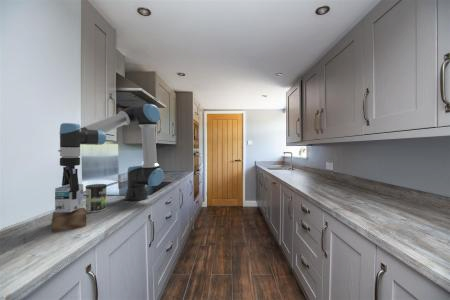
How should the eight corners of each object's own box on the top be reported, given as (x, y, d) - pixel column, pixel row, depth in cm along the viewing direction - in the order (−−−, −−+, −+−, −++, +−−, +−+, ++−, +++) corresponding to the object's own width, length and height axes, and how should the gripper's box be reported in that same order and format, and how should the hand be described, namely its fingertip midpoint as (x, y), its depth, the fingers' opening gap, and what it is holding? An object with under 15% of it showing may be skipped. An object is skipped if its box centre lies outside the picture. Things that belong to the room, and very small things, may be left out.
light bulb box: (71, 212, 90) (71, 187, 90) (54, 213, 89) (54, 188, 89) (83, 205, 100) (83, 183, 100) (68, 206, 99) (68, 183, 99)
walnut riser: (84, 219, 103) (84, 207, 103) (86, 226, 93) (86, 213, 93) (53, 224, 96) (53, 211, 96) (51, 233, 86) (51, 218, 86)
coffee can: (110, 207, 123) (110, 183, 123) (99, 212, 112) (99, 187, 112) (93, 206, 123) (93, 183, 123) (80, 212, 113) (81, 186, 113)
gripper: (54, 156, 99) (54, 200, 100) (66, 158, 83) (66, 211, 84) (73, 155, 105) (72, 197, 105) (87, 157, 89) (87, 207, 89)
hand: (69, 203), depth 94 cm, fingers closed on light bulb box, 12 cm apart
